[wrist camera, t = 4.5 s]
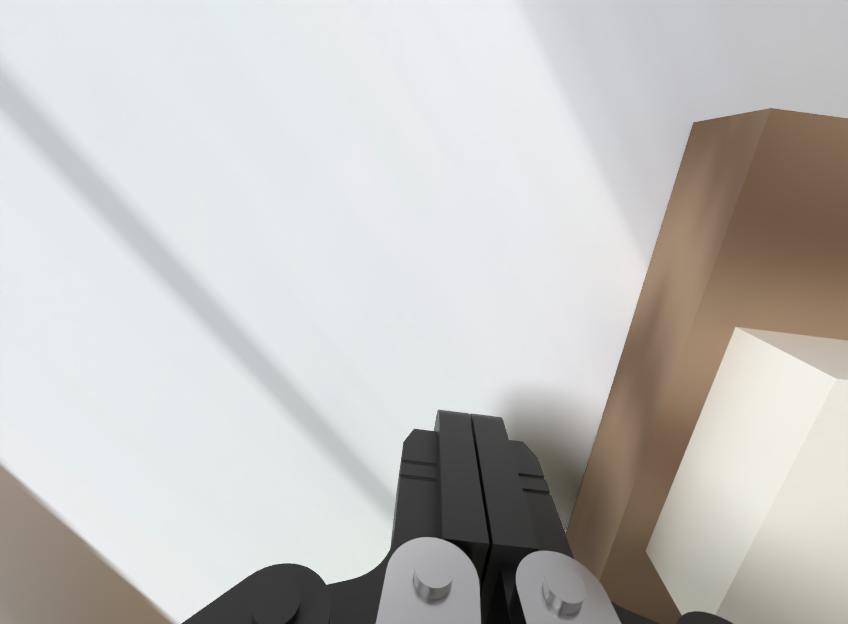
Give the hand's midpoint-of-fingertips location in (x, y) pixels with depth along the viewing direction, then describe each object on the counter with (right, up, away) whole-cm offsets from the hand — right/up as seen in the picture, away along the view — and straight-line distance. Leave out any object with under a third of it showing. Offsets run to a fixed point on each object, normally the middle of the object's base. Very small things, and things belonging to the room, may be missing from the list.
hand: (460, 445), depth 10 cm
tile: (+9, -1, +1) cm, 10 cm away
